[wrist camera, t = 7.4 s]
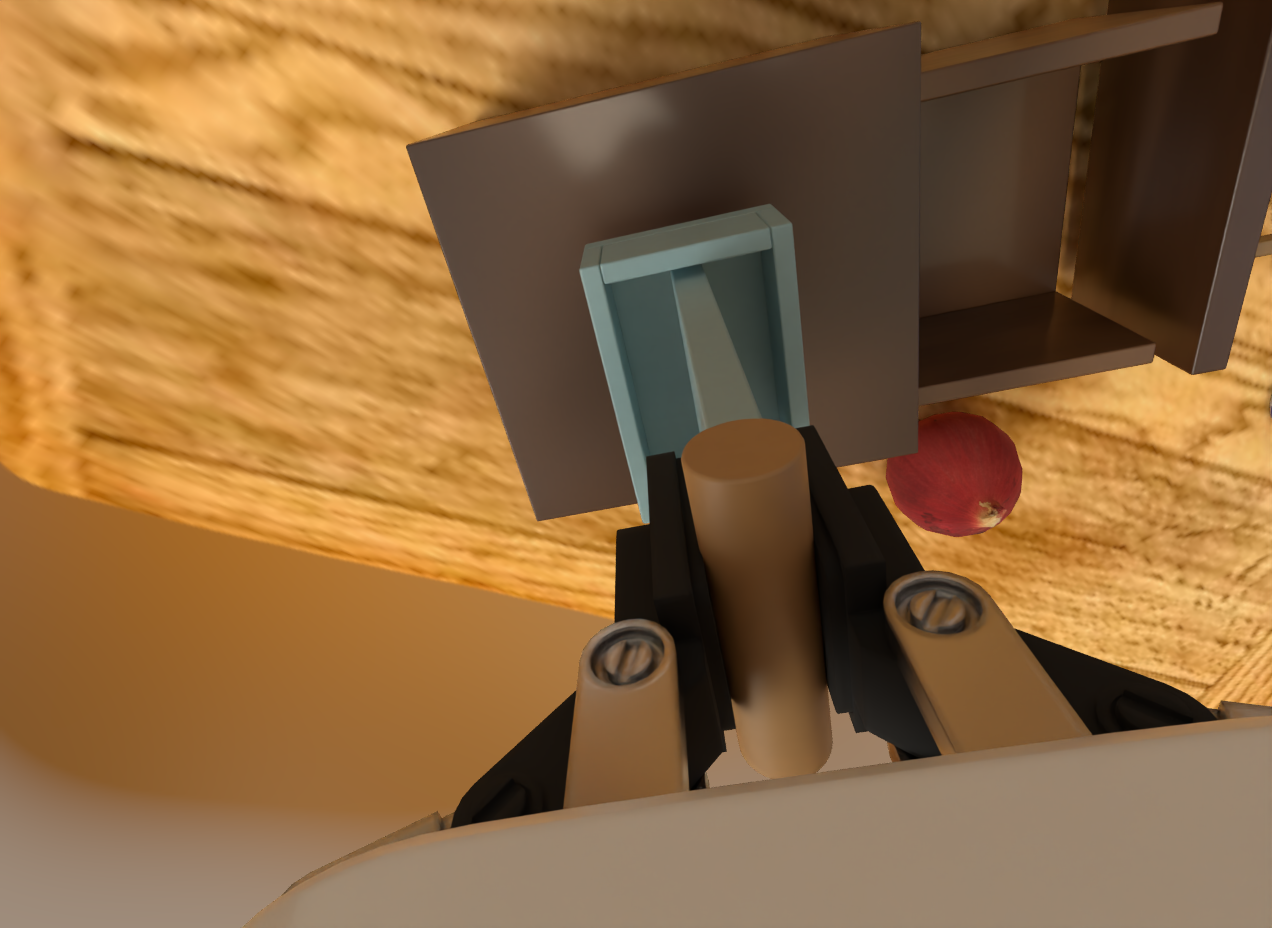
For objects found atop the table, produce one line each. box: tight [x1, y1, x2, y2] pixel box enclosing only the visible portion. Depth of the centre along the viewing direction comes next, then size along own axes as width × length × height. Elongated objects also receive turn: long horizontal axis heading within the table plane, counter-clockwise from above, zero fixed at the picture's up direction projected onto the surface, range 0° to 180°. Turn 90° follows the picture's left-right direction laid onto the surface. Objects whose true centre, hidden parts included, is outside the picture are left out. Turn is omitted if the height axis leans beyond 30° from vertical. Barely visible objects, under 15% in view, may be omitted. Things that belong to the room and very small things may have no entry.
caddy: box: [579, 204, 833, 779], centre depth 14 cm, size 5×8×12 cm, turn 12°
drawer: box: [918, 0, 1272, 406], centre depth 25 cm, size 18×12×8 cm
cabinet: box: [406, 21, 921, 521], centre depth 26 cm, size 15×14×10 cm
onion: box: [886, 412, 1022, 537], centre depth 32 cm, size 6×6×8 cm
